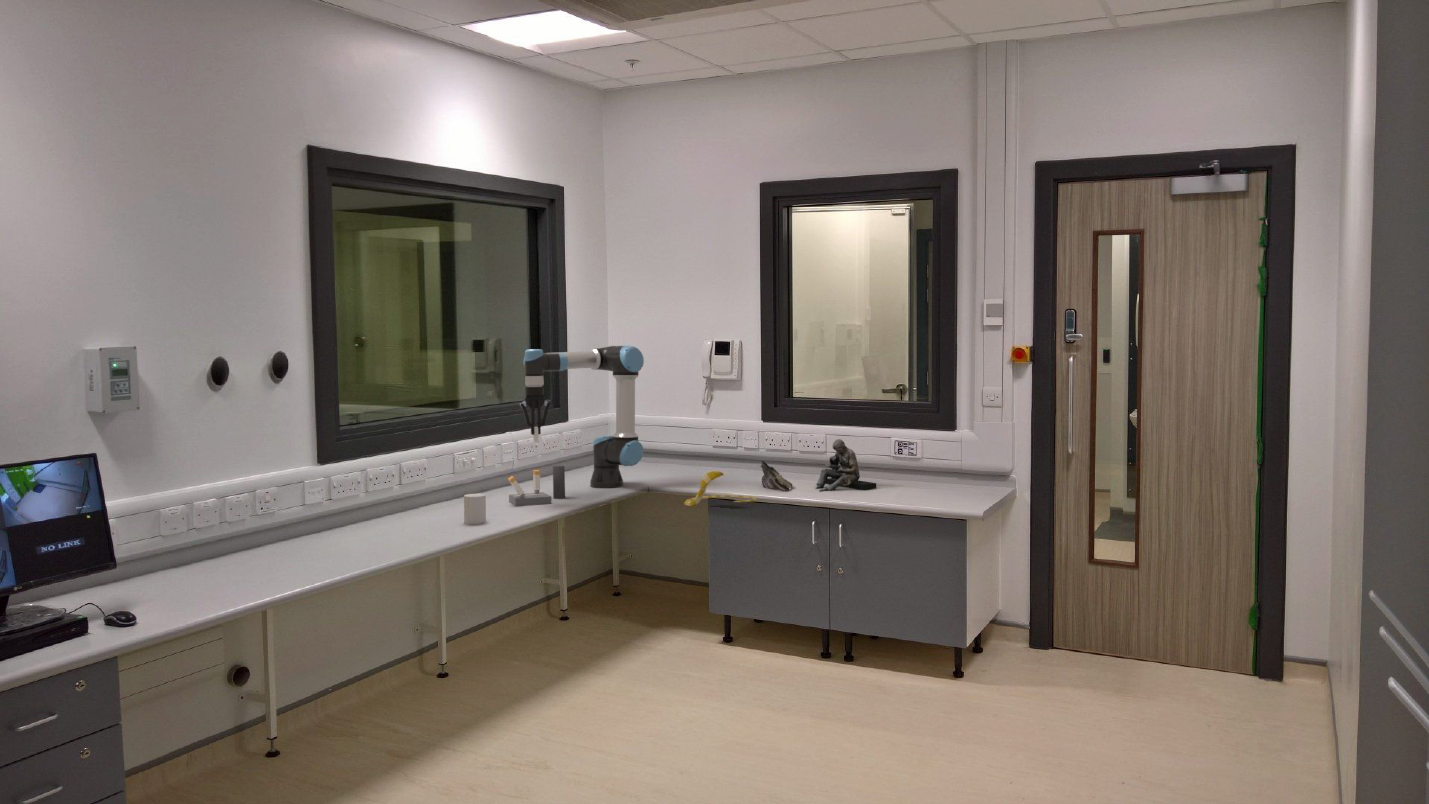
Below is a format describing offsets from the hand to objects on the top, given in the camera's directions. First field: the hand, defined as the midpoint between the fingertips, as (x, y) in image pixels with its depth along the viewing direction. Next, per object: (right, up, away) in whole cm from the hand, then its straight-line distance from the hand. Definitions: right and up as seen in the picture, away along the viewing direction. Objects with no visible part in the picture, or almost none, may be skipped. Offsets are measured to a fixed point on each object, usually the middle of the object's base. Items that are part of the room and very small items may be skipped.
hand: (536, 442), depth 420 cm
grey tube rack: (-3, -26, +4) cm, 26 cm away
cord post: (+8, -25, +14) cm, 30 cm away
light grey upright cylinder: (-18, -31, -33) cm, 49 cm away
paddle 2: (-1, -21, +9) cm, 23 cm away
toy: (+77, -26, -2) cm, 81 cm away
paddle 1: (-5, -22, -1) cm, 23 cm away
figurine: (+129, -24, +26) cm, 134 cm away
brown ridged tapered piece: (+97, -17, +20) cm, 100 cm away
